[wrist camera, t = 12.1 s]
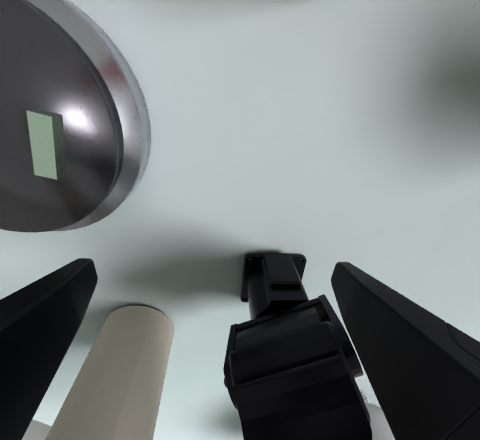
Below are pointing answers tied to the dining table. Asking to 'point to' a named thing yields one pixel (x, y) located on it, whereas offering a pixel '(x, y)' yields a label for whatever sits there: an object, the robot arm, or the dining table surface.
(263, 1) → the dining table surface
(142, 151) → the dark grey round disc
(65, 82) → the dial
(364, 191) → the dining table surface
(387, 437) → the jar
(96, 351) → the travel mug
